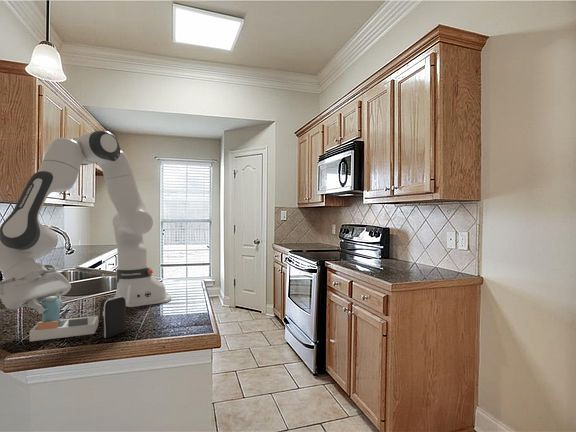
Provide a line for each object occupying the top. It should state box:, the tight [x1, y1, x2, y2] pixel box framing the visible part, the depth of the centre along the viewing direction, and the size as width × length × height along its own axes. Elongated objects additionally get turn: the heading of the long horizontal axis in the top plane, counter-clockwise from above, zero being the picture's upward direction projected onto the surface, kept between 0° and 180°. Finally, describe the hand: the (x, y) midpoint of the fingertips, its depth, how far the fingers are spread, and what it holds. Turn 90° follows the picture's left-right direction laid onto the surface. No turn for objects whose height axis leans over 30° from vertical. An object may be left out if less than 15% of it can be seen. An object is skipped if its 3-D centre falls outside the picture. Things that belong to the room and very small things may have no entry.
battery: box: [99, 295, 127, 339], centre depth 104 cm, size 7×4×11 cm, turn 155°
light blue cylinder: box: [41, 296, 61, 326], centre depth 104 cm, size 4×4×9 cm
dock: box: [29, 315, 99, 342], centre depth 105 cm, size 16×9×5 cm, turn 112°
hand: (52, 309), depth 104 cm, fingers closed on light blue cylinder, 4 cm apart
